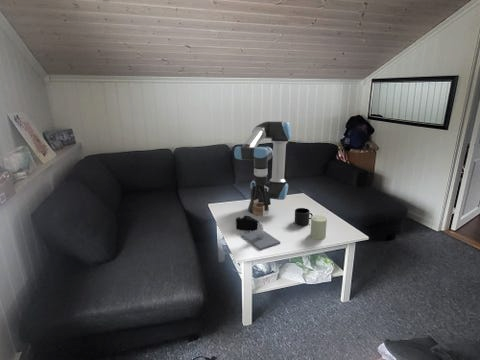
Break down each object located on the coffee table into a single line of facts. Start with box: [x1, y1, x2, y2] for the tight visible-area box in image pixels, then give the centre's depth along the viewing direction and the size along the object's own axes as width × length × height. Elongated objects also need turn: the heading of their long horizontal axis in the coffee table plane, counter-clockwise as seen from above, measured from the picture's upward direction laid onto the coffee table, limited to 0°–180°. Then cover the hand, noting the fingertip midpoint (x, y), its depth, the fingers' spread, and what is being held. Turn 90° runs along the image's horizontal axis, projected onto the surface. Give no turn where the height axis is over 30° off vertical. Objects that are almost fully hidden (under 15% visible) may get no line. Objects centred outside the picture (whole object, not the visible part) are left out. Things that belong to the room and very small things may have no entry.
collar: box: [253, 202, 264, 217], centre depth 170 cm, size 8×8×5 cm
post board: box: [241, 222, 281, 251], centre depth 174 cm, size 20×14×11 cm
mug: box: [294, 207, 314, 227], centre depth 194 cm, size 9×12×9 cm
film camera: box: [235, 215, 259, 232], centre depth 190 cm, size 15×10×9 cm, turn 72°
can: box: [309, 214, 328, 240], centre depth 177 cm, size 9×9×12 cm
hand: (260, 212), depth 170 cm, fingers closed on collar, 8 cm apart
